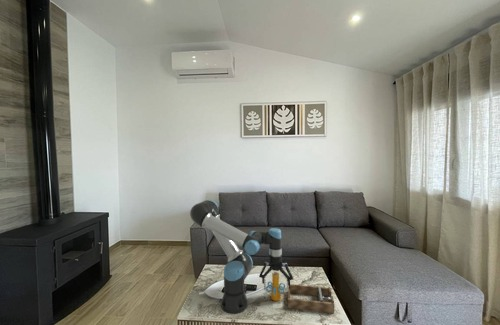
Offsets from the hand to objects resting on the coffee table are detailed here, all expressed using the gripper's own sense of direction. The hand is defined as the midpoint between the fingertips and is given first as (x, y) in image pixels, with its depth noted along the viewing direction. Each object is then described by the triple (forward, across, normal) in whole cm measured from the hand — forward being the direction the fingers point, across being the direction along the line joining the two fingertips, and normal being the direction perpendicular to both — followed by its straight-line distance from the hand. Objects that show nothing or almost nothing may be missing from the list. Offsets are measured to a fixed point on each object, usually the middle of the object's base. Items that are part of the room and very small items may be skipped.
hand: (276, 289), depth 139 cm
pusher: (+5, +29, 0) cm, 29 cm away
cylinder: (+6, 0, 0) cm, 6 cm away
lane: (+6, +20, 0) cm, 20 cm away
